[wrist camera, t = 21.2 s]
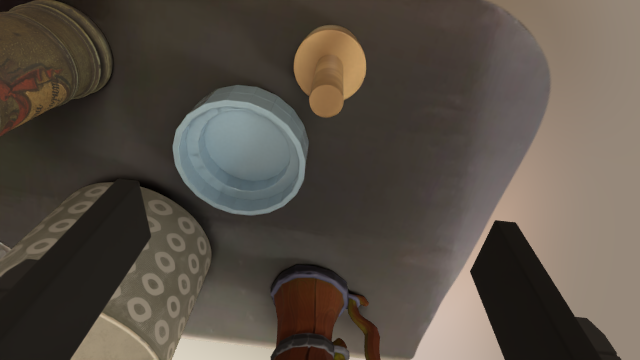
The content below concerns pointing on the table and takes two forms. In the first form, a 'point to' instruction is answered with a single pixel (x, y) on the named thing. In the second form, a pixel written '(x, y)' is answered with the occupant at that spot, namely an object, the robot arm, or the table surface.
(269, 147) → the bowl
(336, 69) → the brush
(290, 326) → the mug
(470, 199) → the table surface
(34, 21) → the container
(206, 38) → the table surface
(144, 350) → the planter
